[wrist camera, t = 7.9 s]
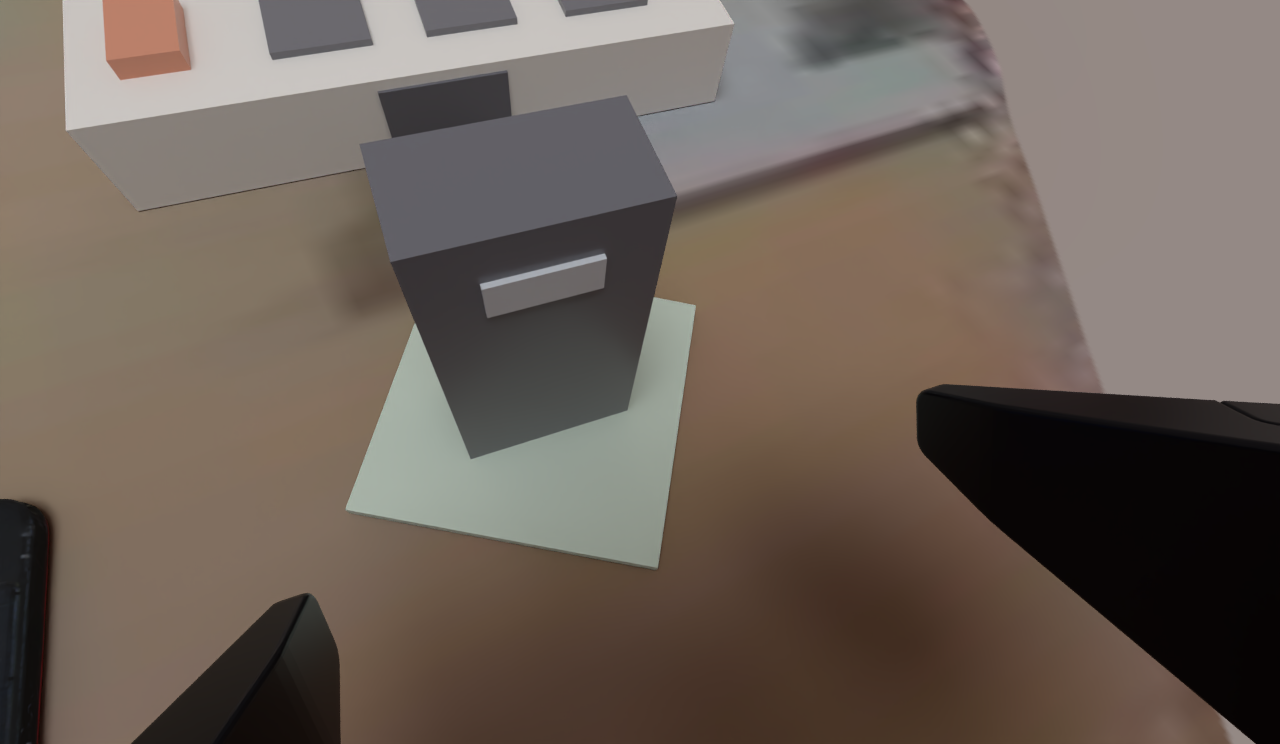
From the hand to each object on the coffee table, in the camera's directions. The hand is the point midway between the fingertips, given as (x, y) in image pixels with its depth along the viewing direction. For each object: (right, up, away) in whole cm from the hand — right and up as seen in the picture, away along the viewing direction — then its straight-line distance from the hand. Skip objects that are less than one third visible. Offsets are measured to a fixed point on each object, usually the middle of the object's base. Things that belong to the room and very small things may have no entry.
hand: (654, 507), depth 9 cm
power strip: (-8, +13, +17) cm, 23 cm away
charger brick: (-3, +1, +11) cm, 12 cm away
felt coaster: (-3, +1, +12) cm, 12 cm away
